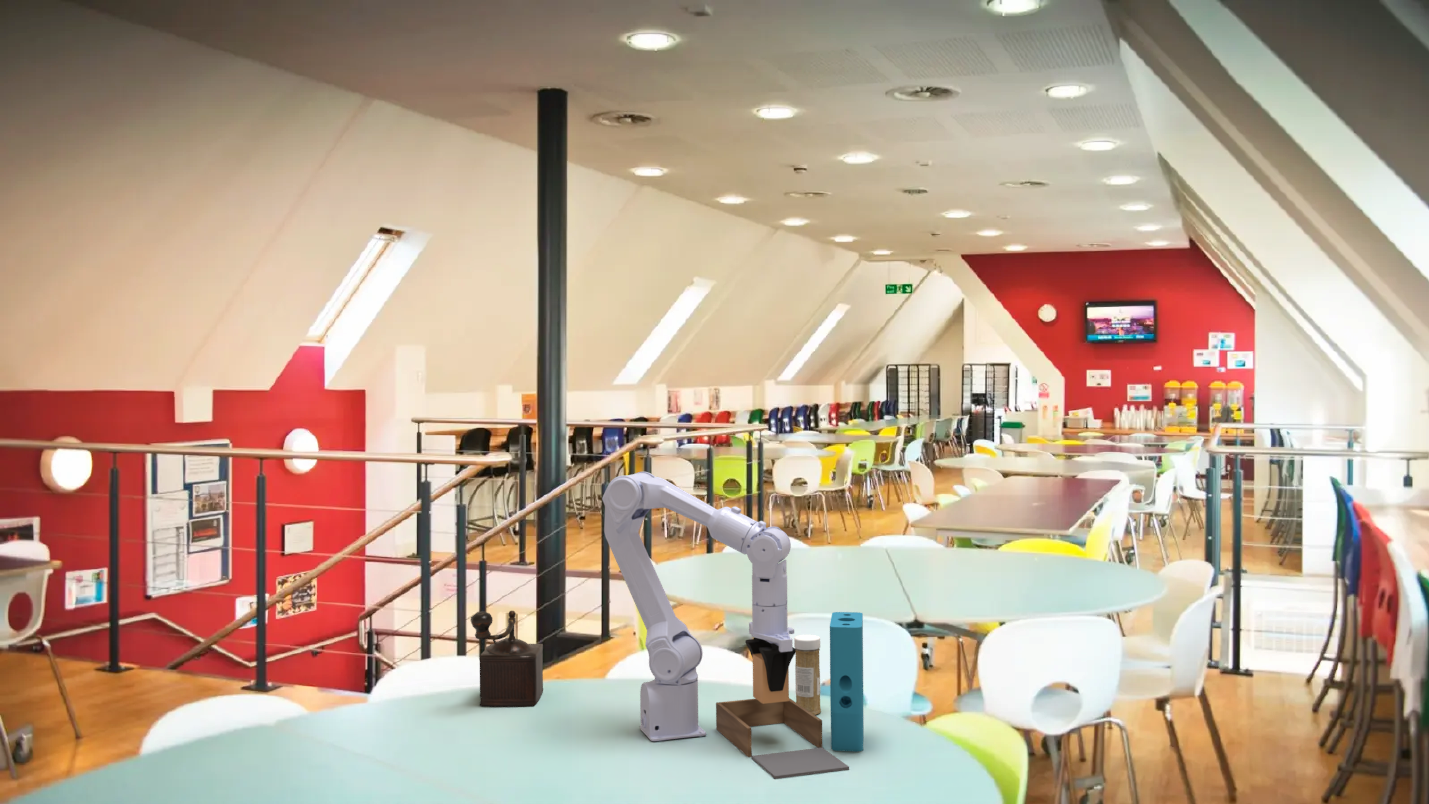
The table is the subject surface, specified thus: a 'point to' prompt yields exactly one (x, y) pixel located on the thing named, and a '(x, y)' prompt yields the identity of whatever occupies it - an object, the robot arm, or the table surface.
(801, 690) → the sprinkles bottle
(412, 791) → the table surface
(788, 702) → the walnut box
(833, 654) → the block
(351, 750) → the table surface
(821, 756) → the charcoal mat
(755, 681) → the orange block
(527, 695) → the manual coffee grinder
